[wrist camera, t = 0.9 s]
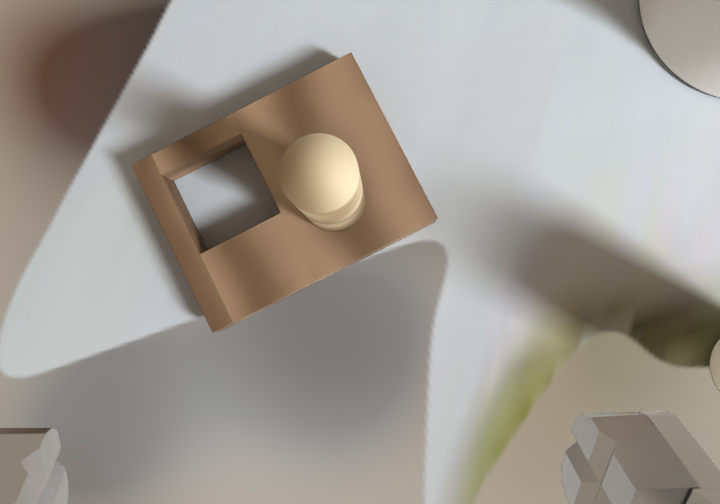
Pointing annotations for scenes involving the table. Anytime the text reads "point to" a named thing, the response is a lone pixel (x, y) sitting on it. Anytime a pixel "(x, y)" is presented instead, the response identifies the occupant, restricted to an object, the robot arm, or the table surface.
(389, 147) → the pin board
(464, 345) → the table surface
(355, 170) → the pin
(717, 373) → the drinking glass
